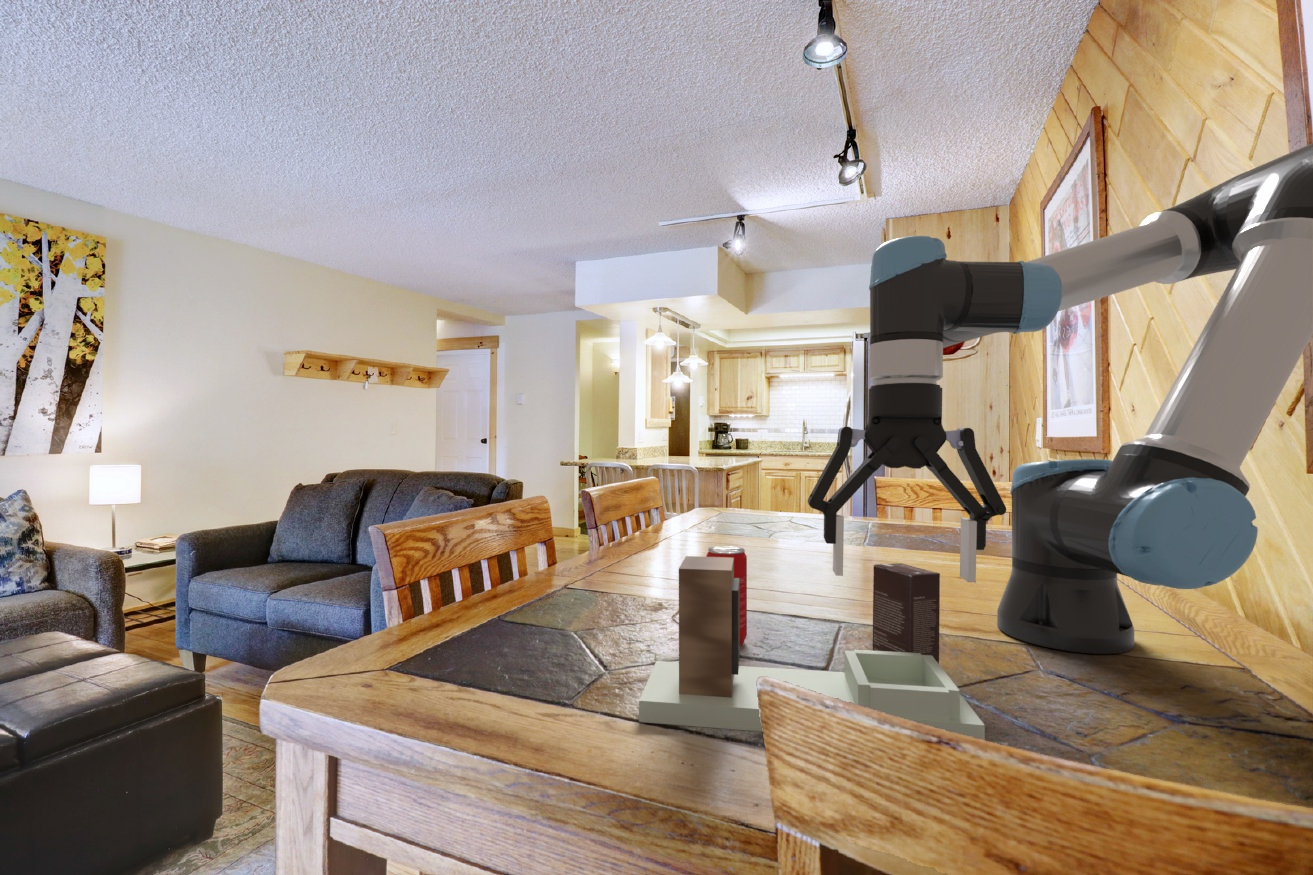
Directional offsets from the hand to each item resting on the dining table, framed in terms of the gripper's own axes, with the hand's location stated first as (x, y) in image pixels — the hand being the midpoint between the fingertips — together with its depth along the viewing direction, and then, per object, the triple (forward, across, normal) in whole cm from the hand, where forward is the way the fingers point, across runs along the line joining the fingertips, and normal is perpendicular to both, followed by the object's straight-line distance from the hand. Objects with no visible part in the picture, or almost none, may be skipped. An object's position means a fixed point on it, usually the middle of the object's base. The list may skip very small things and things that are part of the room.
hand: (901, 576), depth 67 cm
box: (+11, -1, 0) cm, 11 cm away
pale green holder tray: (+11, +11, +10) cm, 19 cm away
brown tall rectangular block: (+9, +20, +10) cm, 24 cm away
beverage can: (+12, +19, -8) cm, 24 cm away
